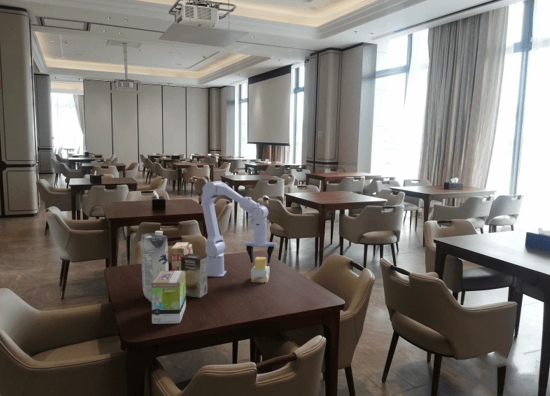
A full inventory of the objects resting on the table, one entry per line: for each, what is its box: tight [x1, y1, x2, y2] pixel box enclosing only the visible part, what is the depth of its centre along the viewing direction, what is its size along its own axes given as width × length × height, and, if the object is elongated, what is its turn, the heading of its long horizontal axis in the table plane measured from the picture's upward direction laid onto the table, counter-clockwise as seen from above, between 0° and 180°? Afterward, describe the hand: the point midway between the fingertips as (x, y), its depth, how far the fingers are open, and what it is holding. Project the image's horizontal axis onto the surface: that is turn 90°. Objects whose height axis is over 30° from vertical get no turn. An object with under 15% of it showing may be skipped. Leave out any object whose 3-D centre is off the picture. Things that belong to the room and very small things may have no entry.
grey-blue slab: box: [250, 265, 271, 277], centre depth 197 cm, size 7×7×3 cm
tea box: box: [151, 270, 187, 325], centre depth 155 cm, size 15×10×15 cm
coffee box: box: [181, 253, 208, 298], centre depth 178 cm, size 9×6×16 cm
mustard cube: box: [254, 256, 267, 270], centre depth 196 cm, size 4×4×4 cm
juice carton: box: [140, 230, 170, 303], centre depth 173 cm, size 9×10×27 cm
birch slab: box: [250, 273, 270, 283], centre depth 197 cm, size 7×7×3 cm
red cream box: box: [170, 241, 194, 271], centre depth 219 cm, size 21×6×12 cm, turn 0°
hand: (260, 262), depth 197 cm, fingers open, 7 cm apart
